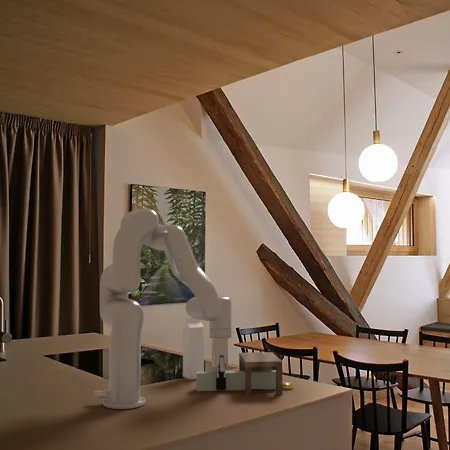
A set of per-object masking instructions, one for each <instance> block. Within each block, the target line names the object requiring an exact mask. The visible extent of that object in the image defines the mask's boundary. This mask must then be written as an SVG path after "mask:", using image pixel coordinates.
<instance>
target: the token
mask: <svg viewBox="0 0 450 450" xmlns="http://www.w3.org/2000/svg"><path fill="white" fill-rule="evenodd" d="M283 389H284V390H286V391H289V390H294V383H293V382H292V381H282V390H283Z"/></svg>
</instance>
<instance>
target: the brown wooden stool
mask: <svg viewBox="0 0 450 450" xmlns="http://www.w3.org/2000/svg"><path fill="white" fill-rule="evenodd" d="M238 358H239V359H238V364H239V365H238V366H239V367H238V371H245V390H244V395H245V396H252V390H251V371H261V370H274V367H275V370H276V389H275V394H276V395H280V396H283V393H284V392H283V389H282V382H283V361H282V359H280V358H279V357H278V356H277V355H276V354H275V353H274V352H273V351H266V352H265V351H264V352H262V351H261V352H257V351H256V352H238Z"/></svg>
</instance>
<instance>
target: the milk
mask: <svg viewBox="0 0 450 450" xmlns="http://www.w3.org/2000/svg"><path fill="white" fill-rule="evenodd" d="M185 321H186V322H185V323H184V325H183V327H182V346H183V347H182V377H183V378H185V379H187V380H190V381H191V380H196V372H205V326H204V325H203V323H202V320H199V319H194V318H192V317H188V318H186V319H185Z"/></svg>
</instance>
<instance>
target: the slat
mask: <svg viewBox="0 0 450 450" xmlns="http://www.w3.org/2000/svg"><path fill="white" fill-rule="evenodd" d="M216 377H217V371H216V370H213V371H212V370H211V371H204V372H196V379H195V383H196V386H195V388H196V389H195V390H196V392H209V391H210V392H211V391H212V392H213V391H214V392H215V391H216V392H217V391H222V390H217V389H216ZM225 377H226V389H225V390H224V391H245V371H239V370H225ZM251 389H263V390H276V369H273V370H261V371H251Z"/></svg>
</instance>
